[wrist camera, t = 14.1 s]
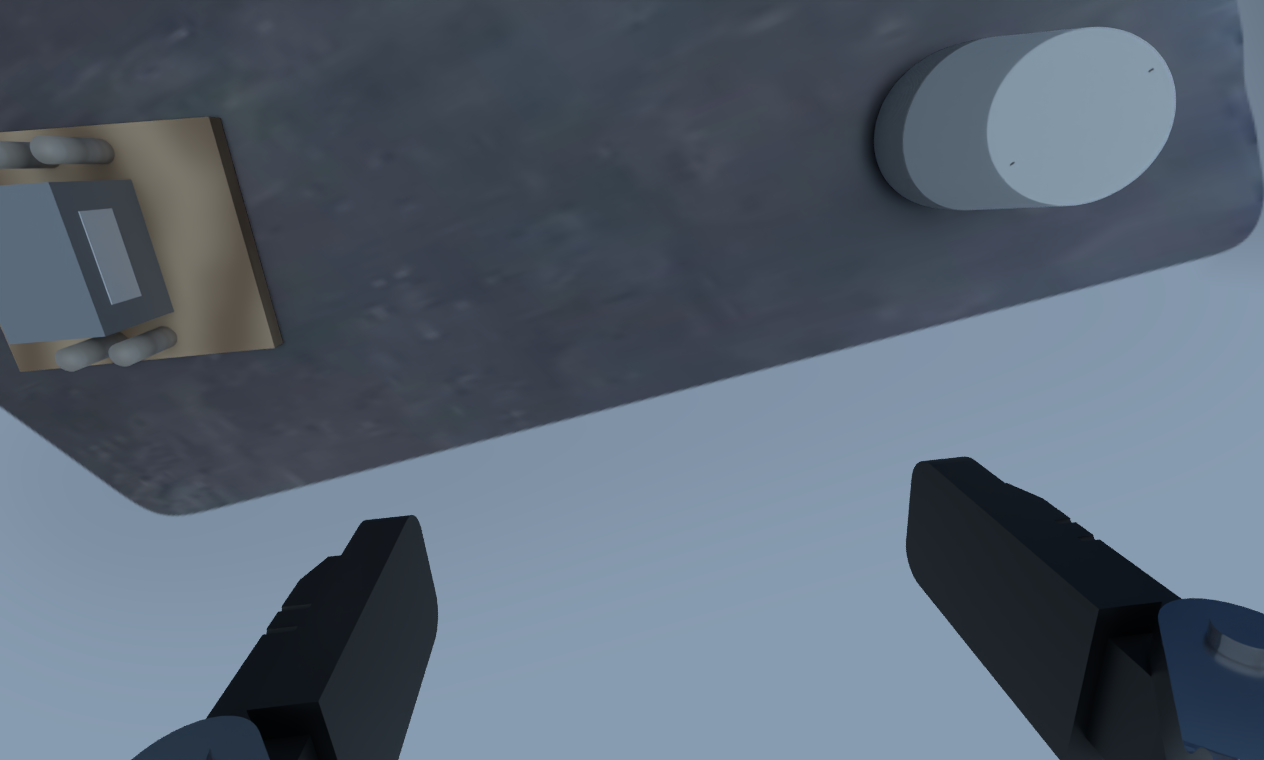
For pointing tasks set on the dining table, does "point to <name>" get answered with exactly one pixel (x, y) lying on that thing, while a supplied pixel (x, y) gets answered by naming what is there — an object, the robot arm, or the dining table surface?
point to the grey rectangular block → (76, 261)
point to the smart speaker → (1026, 120)
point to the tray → (160, 236)
